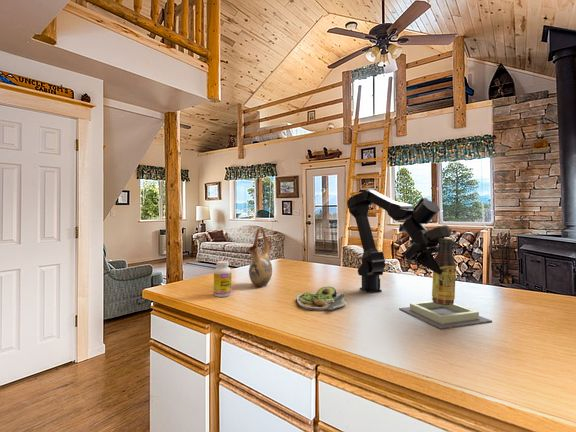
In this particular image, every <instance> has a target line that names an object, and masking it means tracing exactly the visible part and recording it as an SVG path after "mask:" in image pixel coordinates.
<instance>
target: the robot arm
mask: <svg viewBox="0 0 576 432" xmlns="http://www.w3.org/2000/svg"><path fill="white" fill-rule="evenodd" d="M346 202H347V203H346V205H347V206H346V207H347V208H348V212H349V213H350V214H351V215H352V216H353V218H354V219H355V222H356V225H357V226H356V227H357V230H358V234H359V239H360V242H361V245H362V250H363V252H362V256H361V265H360V266H359V267H358V268H357V273H358V276H361V287H359V290H361V291H364V292H366V293H379V292H382V289H381V278H380V276H383V273H384V270H385V267H386V260H385V256H384V253H383V251H379V250H378V249H377V247H376V246H377V245H376V244H375V240H374V235H373V232H372V228H371V224H370V221H369V217H368V213H369V210H370V207H369V206H371V205H372V204H374V205H376V206H377V207H379V208H380V209H382V210H384V211H385V212H386V213H387V215H388V216H389V217H390V218H391V219H392V220H393V221H396V222H397V221H399V222H400V221H403V223H400V224H399V228H398V232H399V233H401V232H402V233H403V232H404V233H406V234H407V235H408V237H409V238H410V239H411V240H410V241H409V243H410V244H411V245H410V246H409V247H408V249H406V251H405V252H404V258H405V259H406V261H407V262H414V263H417V264H419V265H421V266H423V267H424V268H427V269H428V270H431V271H432V272H433V271H434V272H435V273H437V274H439V275H440V274H442V271H441V269H440V268H439V266H438V264H437V263H436V261H435V260H434V259H435V257H433V254H435V256H437V254H438V250H439V243H438V238H448V237H449V238H450V237H451V234H452V229H451V228H450V227H449V226H448V225H447V224H445V225H441V226H436V227H434V228H431V229H427V228H426V227H425V226H424V225H428V224H429V223H430V222H431V221H432V220H433V219H434V218H435V216H437V214H438V213H439V212H440V210H441V209H440V206H439V205H438V204H437V203H436V202H433V201H431V200H429V199H428V197H421V198H420V200H419V201H418V203H417V204H416V205H415V206H413V205H412V204H410V203H406V202H400V201H395V200H393V199H392V198H389V197H388V196H386V195H384V194H382V193H381V192H378V191H377V190H376V189H364V190H363V191H362V192H359V193H357V194H355V195H352V196H350V197H348V200H347V201H346ZM457 248H458V244H457V243H456V242H455V240H453V244H452V252H453V251H454V250H456V249H457Z"/></svg>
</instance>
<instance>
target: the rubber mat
mask: <svg viewBox="0 0 576 432" xmlns="http://www.w3.org/2000/svg"><path fill="white" fill-rule="evenodd" d="M399 310H400V311H402V312H404V313H406V314H408V315H410V316H413V317H414V318H417V319H418V320H420V321H423V322H424V323H427V324H428V325H431V326H433V327H435V328H437V329H439V330H446V329H451V328H452V329H453V328H454V329H455V328H460V327H465V326H466V327H467V326H473V325H481V324H486V323H492V322H493V320H492V319H489V318H486V317H483V316H481V315H479V319H474V320H467V321H460V322H452V323H445V324H440V323H438V322H436V321H433V320H431V319H429V318H427V317H425V316H423V315H420V314H418V313H416V312H414V311H412V310H410V306H406V307H399ZM428 310H431V311H433V312H435V313H438V314H440V315H446V314H454V313H458V312H455V311H453V310H450V309H448V308H445V307H440V308H431V309H428Z"/></svg>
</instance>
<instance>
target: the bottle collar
mask: <svg viewBox="0 0 576 432" xmlns="http://www.w3.org/2000/svg"><path fill="white" fill-rule="evenodd" d="M409 307H410V310H412V311H414V312H416V313H418V314H420V315H423V316H425V317H427V318H429V319H431V320H433V321H436V322H438V323H440V324H445V323H452V322H460V321H467V320H474V319H479V316H480V312H479V311H477V310H474V309H471V308H468V307H466V306H464V305H460V304H457V303H455V302H454V303H453V304H452V305H441V304H436V303H434V302H433V301H432V300H429V301H420V302H419V301H417V302H411V303H409ZM440 307H445V308H448V309H450V310H453V311H455V312H458V313H454V314H446V315H440V314H438V313H435V312H433V311H431V310H428V309H431V308H440Z"/></svg>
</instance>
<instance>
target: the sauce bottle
mask: <svg viewBox="0 0 576 432" xmlns="http://www.w3.org/2000/svg"><path fill="white" fill-rule="evenodd" d="M453 241H454V239H453V238H450V237H449V238H448V237H445V238H438V243H439V244H438V246H439V250H438V254H437V255H435V257H434V260H435V261H436V263H437V264H438V266H439V268H440V269H441V271H442V274H440V275H439V274H437V273H435V272H434V271H432V288H431V299H432V300H431V301H433V302H434V303H436V304H441V305H452V304H453V303H455V297H456V272H457V267H456V262H455V258H454V257H453V251H452V244H453Z"/></svg>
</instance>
